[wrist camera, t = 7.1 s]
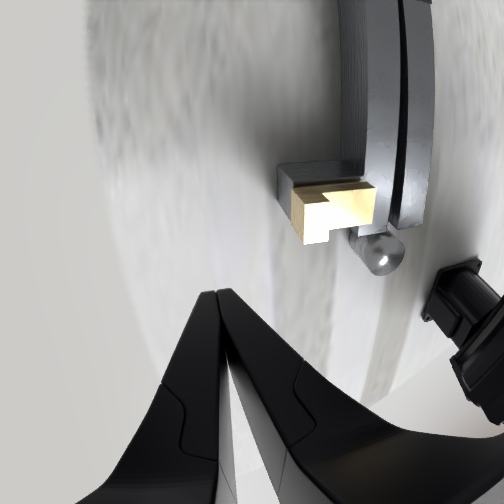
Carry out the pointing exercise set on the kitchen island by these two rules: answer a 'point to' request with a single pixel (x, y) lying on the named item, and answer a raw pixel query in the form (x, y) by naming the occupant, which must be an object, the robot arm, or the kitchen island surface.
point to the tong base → (361, 110)
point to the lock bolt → (330, 208)
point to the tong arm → (407, 139)
